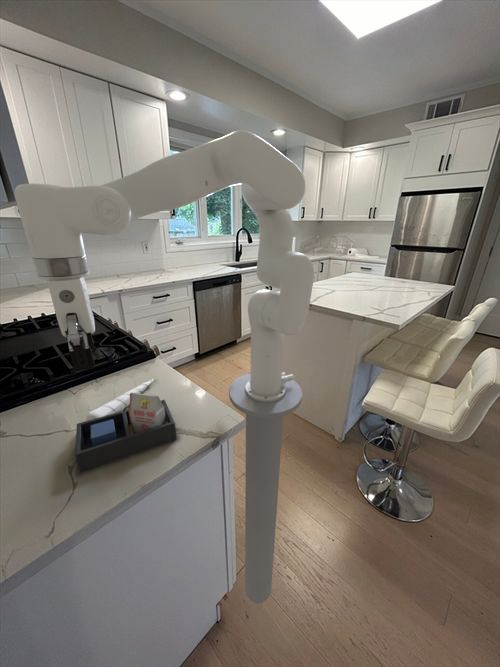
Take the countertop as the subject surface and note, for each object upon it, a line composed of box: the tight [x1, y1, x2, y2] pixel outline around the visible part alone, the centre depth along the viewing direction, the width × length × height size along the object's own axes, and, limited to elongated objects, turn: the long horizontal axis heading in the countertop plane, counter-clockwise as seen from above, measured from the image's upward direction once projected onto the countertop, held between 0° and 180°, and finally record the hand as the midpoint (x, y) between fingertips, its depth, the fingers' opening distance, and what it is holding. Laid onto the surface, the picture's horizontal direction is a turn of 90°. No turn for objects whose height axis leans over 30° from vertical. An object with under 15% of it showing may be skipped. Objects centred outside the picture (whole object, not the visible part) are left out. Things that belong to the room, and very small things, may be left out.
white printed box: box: [128, 392, 166, 433], centre depth 64 cm, size 4×7×10 cm, turn 79°
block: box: [91, 419, 117, 447], centre depth 61 cm, size 4×4×4 cm
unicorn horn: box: [85, 378, 155, 421], centre depth 75 cm, size 5×24×5 cm, turn 159°
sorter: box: [74, 399, 178, 473], centre depth 63 cm, size 19×10×5 cm, turn 119°
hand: (85, 357), depth 53 cm, fingers open, 9 cm apart
